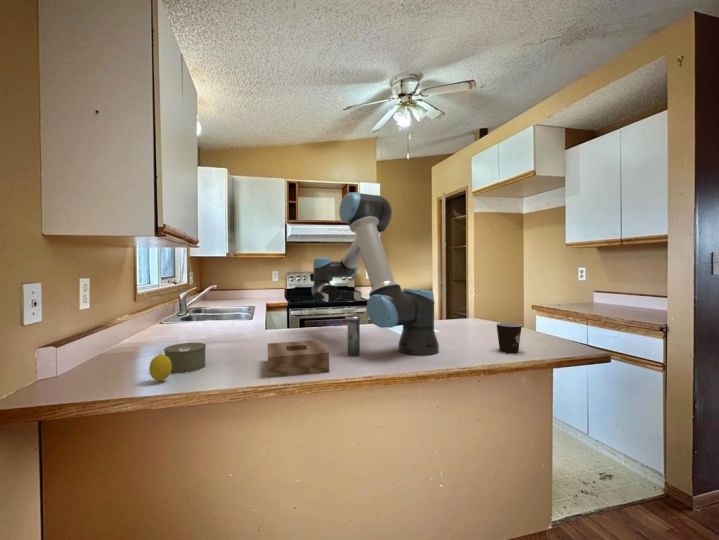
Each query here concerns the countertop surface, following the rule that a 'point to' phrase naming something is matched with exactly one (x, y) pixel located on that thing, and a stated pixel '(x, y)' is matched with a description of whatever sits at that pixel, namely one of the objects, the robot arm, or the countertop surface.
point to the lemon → (160, 367)
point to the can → (186, 357)
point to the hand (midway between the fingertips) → (344, 297)
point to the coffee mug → (509, 337)
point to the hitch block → (297, 358)
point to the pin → (353, 334)
